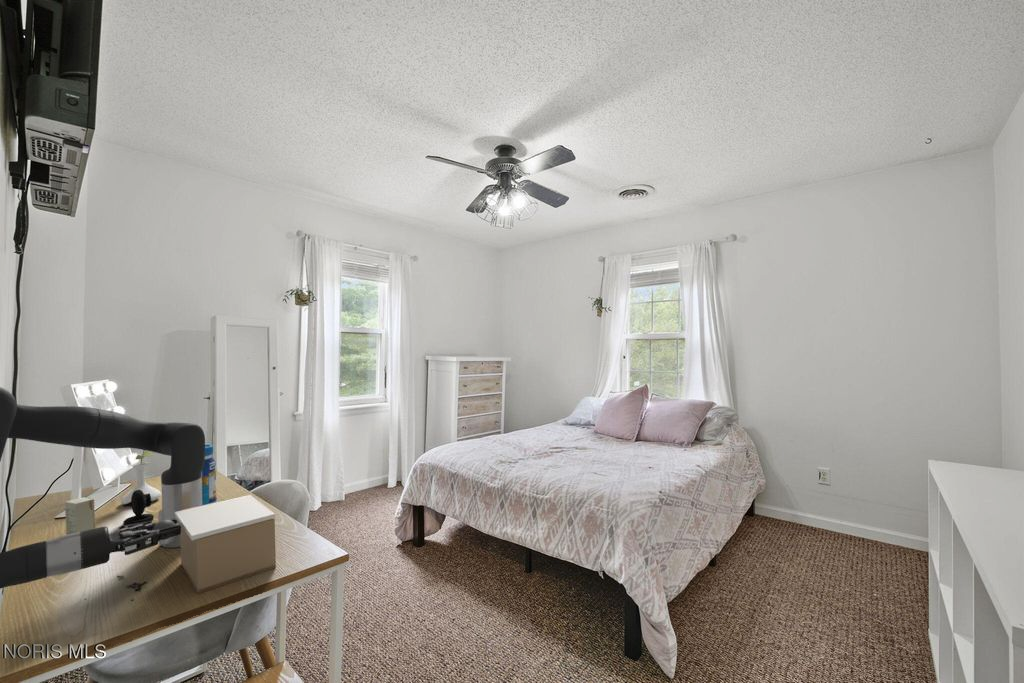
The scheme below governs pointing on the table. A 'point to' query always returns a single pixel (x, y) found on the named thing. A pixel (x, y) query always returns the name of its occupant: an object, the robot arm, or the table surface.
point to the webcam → (139, 507)
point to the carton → (228, 555)
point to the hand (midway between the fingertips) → (178, 526)
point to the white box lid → (219, 517)
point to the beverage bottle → (209, 478)
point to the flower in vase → (141, 481)
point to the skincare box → (79, 515)
